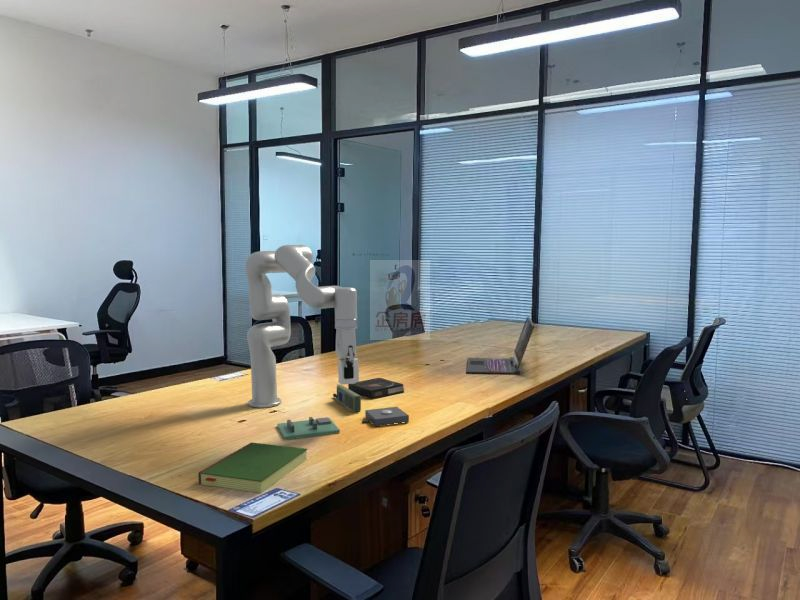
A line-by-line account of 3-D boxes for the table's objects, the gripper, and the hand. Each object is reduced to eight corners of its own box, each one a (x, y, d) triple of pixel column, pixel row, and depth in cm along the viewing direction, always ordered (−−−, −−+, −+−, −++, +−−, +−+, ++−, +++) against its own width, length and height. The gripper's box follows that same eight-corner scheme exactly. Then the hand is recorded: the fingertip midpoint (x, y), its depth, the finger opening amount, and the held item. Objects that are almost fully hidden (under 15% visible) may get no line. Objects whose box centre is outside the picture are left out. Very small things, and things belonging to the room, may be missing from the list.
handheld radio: (353, 414, 214) (330, 398, 237) (361, 413, 216) (337, 397, 238) (353, 396, 214) (330, 382, 236) (362, 395, 215) (338, 381, 238)
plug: (338, 382, 200) (338, 359, 200) (356, 380, 203) (356, 357, 202) (341, 384, 197) (341, 361, 196) (360, 382, 199) (359, 359, 198)
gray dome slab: (356, 418, 208) (356, 410, 208) (396, 413, 213) (396, 405, 213) (366, 427, 197) (366, 419, 196) (408, 422, 202) (408, 414, 202)
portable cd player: (372, 400, 233) (372, 390, 233) (348, 392, 246) (348, 383, 246) (404, 393, 244) (404, 384, 243) (379, 386, 257) (379, 377, 256)
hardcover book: (251, 454, 174) (251, 442, 174) (307, 461, 168) (307, 448, 168) (197, 487, 151) (196, 473, 150) (259, 496, 145) (259, 482, 144)
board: (277, 426, 200) (277, 417, 199) (328, 420, 206) (328, 412, 206) (284, 439, 186) (284, 430, 185) (339, 432, 192) (339, 423, 192)
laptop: (468, 360, 312) (467, 316, 310) (528, 361, 308) (528, 316, 306) (466, 375, 278) (466, 325, 276) (534, 376, 274) (534, 325, 271)
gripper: (329, 321, 204) (330, 373, 206) (341, 327, 188) (342, 383, 190) (350, 320, 207) (350, 371, 208) (364, 326, 191) (364, 381, 193)
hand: (346, 376), depth 199 cm, fingers closed on plug, 4 cm apart
